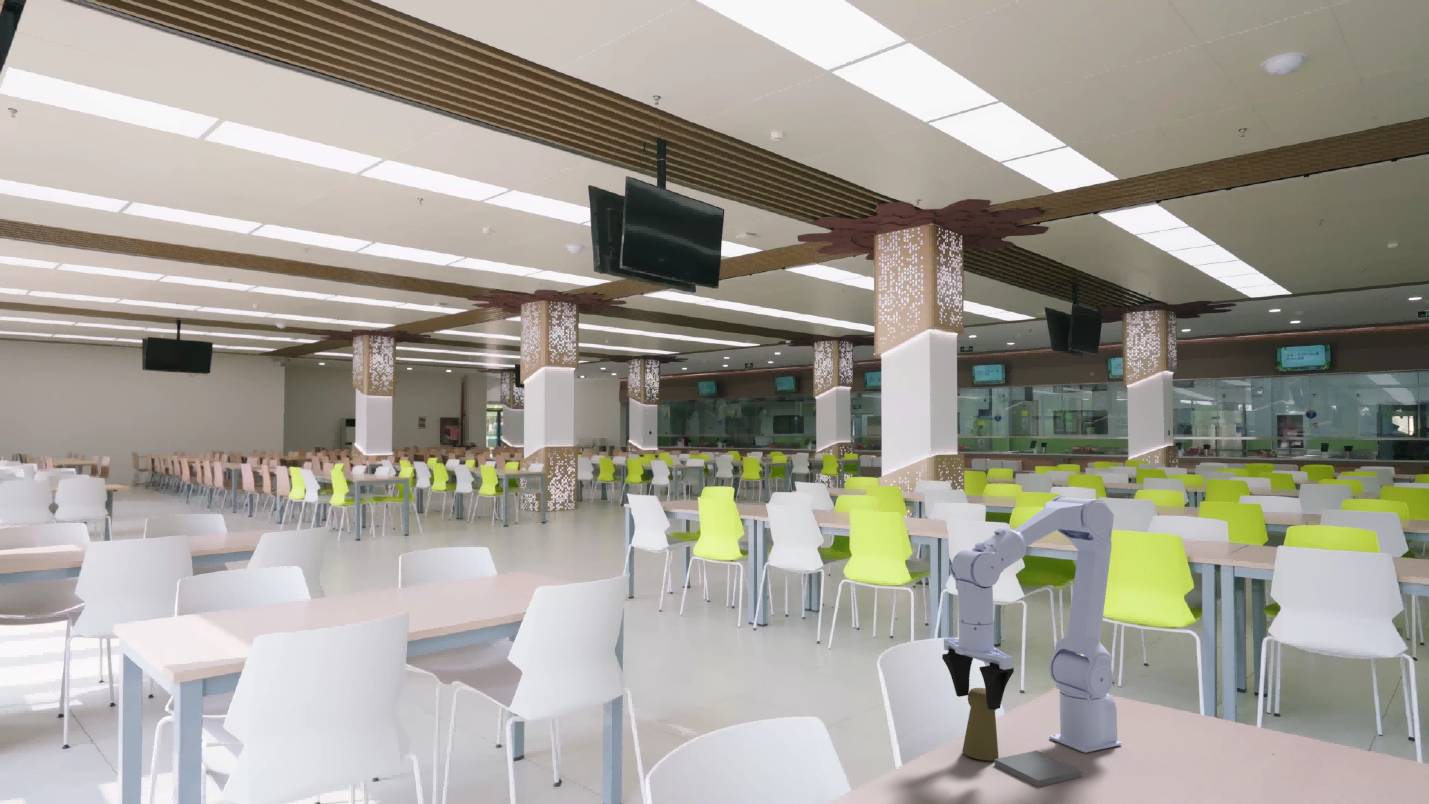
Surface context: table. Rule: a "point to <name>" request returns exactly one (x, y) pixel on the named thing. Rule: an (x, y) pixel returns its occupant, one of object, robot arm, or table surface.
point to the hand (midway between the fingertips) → (977, 701)
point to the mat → (1038, 768)
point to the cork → (980, 728)
